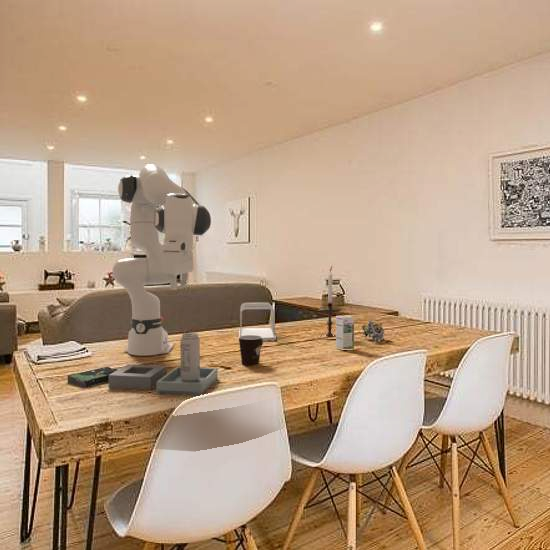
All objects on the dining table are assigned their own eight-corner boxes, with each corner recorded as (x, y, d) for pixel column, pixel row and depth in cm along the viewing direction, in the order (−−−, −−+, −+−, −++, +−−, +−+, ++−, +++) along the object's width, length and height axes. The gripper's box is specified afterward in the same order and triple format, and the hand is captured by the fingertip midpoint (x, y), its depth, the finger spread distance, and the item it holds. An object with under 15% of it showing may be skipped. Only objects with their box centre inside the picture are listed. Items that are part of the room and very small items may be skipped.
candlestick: (342, 336, 235) (342, 265, 233) (339, 340, 225) (340, 266, 222) (319, 335, 238) (320, 264, 235) (316, 339, 227) (317, 265, 225)
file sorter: (239, 332, 247) (239, 301, 246) (272, 331, 248) (273, 301, 247) (238, 341, 222) (238, 308, 221) (276, 341, 223) (276, 308, 222)
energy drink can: (203, 381, 153) (202, 334, 152) (185, 384, 150) (185, 336, 149) (194, 377, 158) (194, 331, 157) (177, 379, 155) (177, 333, 154)
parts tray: (177, 377, 162) (176, 366, 161) (217, 378, 160) (217, 368, 160) (156, 393, 144) (156, 381, 144) (201, 395, 142) (201, 383, 142)
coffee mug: (245, 367, 175) (245, 340, 174) (234, 362, 182) (234, 336, 181) (273, 363, 181) (273, 337, 180) (261, 359, 188) (261, 333, 187)
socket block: (128, 376, 163) (127, 364, 163) (166, 377, 161) (166, 365, 161) (108, 387, 149) (108, 375, 149) (150, 389, 147) (150, 376, 147)
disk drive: (106, 374, 168) (66, 383, 155) (106, 366, 167) (66, 374, 155) (125, 379, 161) (85, 389, 149) (125, 370, 161) (85, 380, 149)
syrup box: (342, 351, 202) (343, 317, 202) (335, 348, 208) (335, 315, 207) (354, 350, 205) (354, 316, 204) (346, 347, 210) (346, 314, 209)
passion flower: (378, 353, 222) (374, 335, 215) (358, 346, 229) (354, 328, 222) (390, 337, 228) (387, 319, 221) (371, 330, 235) (367, 312, 228)
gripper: (180, 243, 163) (180, 284, 164) (157, 245, 143) (157, 291, 144) (198, 244, 162) (197, 284, 164) (177, 245, 142) (177, 292, 143)
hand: (178, 287), depth 154 cm, fingers open, 8 cm apart
